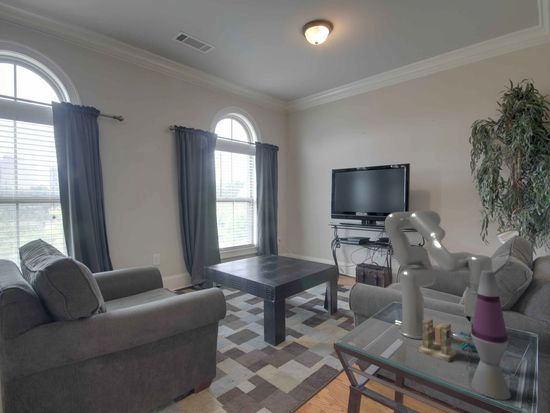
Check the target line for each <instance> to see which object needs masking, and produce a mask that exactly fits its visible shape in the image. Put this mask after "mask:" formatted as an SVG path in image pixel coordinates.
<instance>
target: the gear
mask: <svg viewBox="0 0 550 413" xmlns="http://www.w3.org/2000/svg"><path fill="white" fill-rule="evenodd" d="M459 334H460V335H464V336H467V337H469V335H467V334H466V333H465V332H463V331H460V332H459ZM460 345H461V347H460V350H461V351H463V350H465V349H466V348H468V347H471V348H474V350H475V351H476V352H477V349H476V347H475V345H472V344H469V343H466V342H462V343H461V344H460Z"/></svg>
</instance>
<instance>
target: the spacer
mask: <svg viewBox="0 0 550 413" xmlns="http://www.w3.org/2000/svg"><path fill="white" fill-rule="evenodd" d="M443 324H444V323H441V322H440V323H439V324H437V325H436V326H435V333H434V343H437V344H440V345H441V337H440V326H442V325H443Z"/></svg>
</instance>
